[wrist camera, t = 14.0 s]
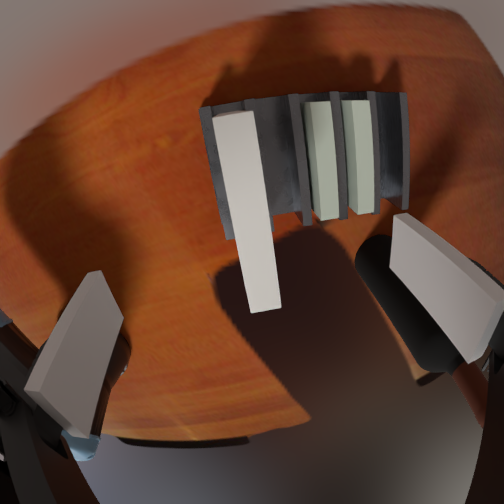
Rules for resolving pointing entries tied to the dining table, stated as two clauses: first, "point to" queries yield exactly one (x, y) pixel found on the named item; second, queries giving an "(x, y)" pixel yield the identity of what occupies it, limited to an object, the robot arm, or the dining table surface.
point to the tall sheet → (248, 206)
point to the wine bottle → (418, 324)
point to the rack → (294, 154)
